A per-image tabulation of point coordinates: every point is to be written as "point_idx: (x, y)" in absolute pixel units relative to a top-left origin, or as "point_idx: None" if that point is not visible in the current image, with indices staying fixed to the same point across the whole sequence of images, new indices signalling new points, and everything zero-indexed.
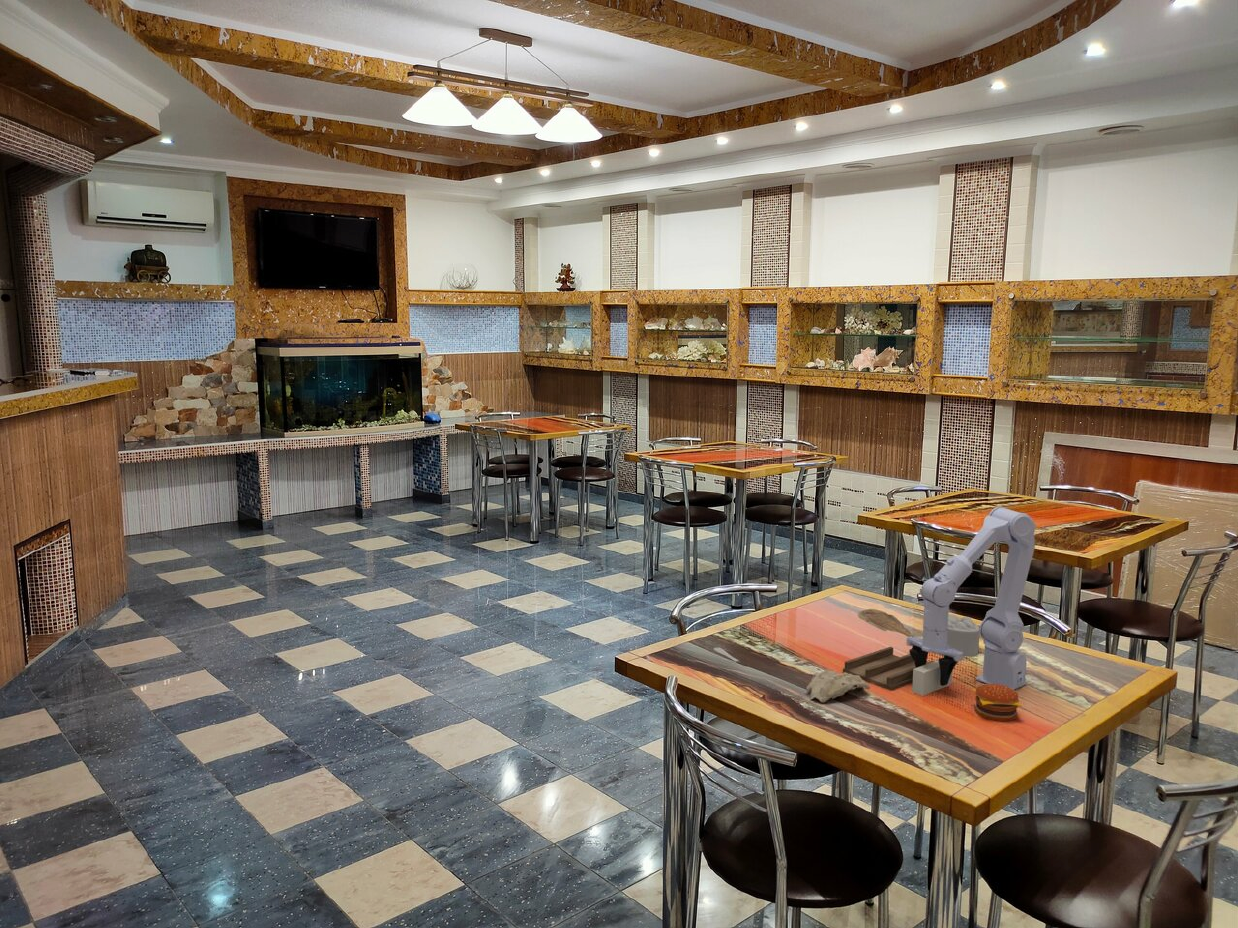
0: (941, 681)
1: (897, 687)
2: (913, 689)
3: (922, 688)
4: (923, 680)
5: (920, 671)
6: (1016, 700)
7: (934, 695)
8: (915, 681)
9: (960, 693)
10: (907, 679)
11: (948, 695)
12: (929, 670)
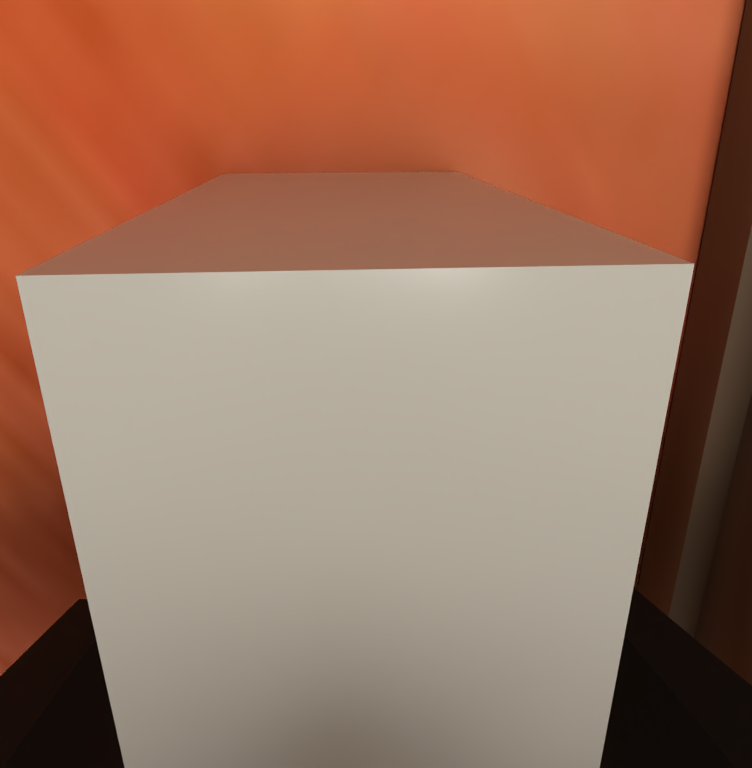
0: (54, 647)
1: (741, 71)
2: (439, 174)
3: (216, 186)
4: (148, 216)
5: (253, 280)
6: None
7: None
8: (432, 200)
9: None
10: (738, 441)
11: (20, 525)
12: (117, 679)
